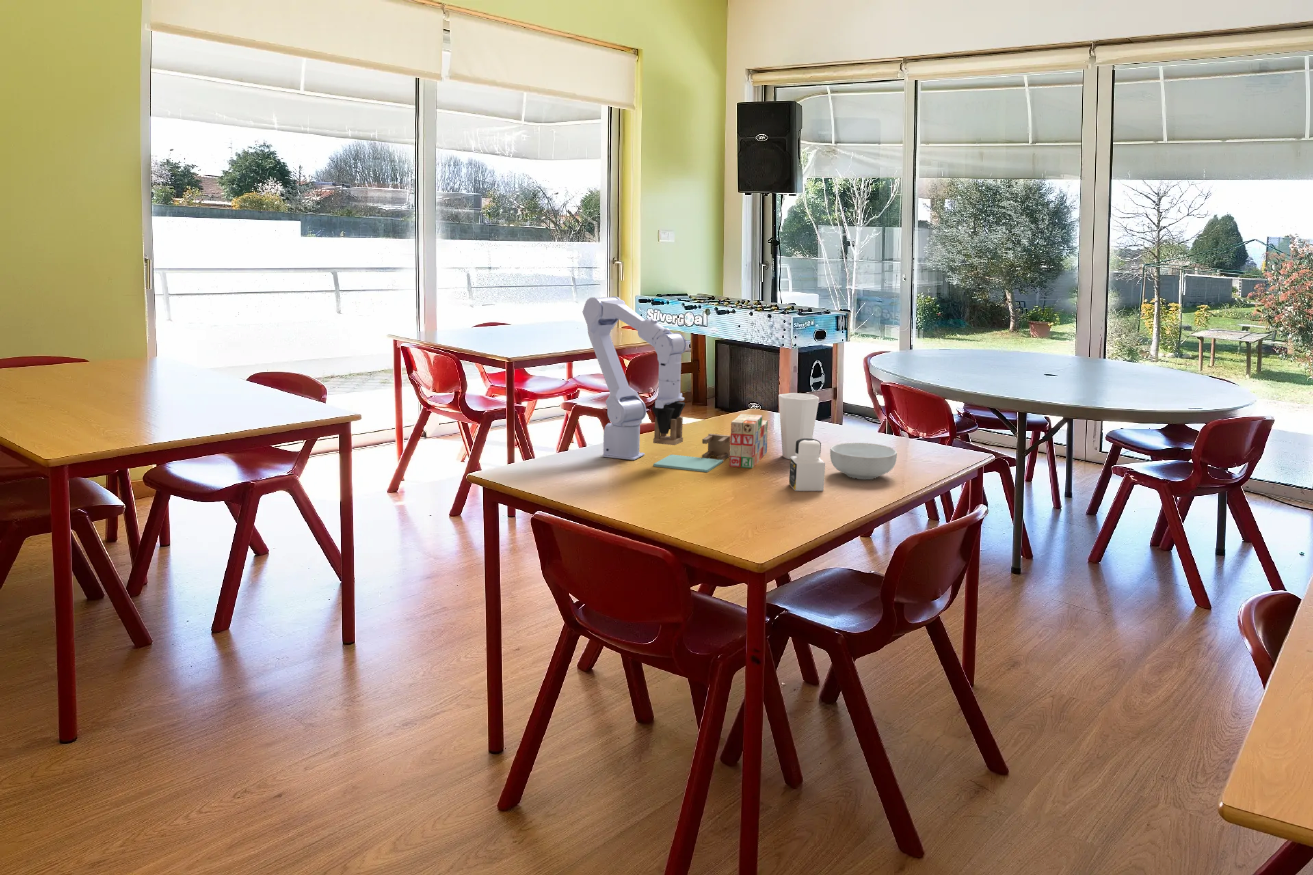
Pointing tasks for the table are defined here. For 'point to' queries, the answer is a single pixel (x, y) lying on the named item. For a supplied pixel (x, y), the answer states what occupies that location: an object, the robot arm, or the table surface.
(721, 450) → the toppled stool
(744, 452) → the stack of blocks
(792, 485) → the medicine bottle
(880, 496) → the table surface
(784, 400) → the cup
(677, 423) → the upturned stool
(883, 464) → the cereal bowl
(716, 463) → the mat
